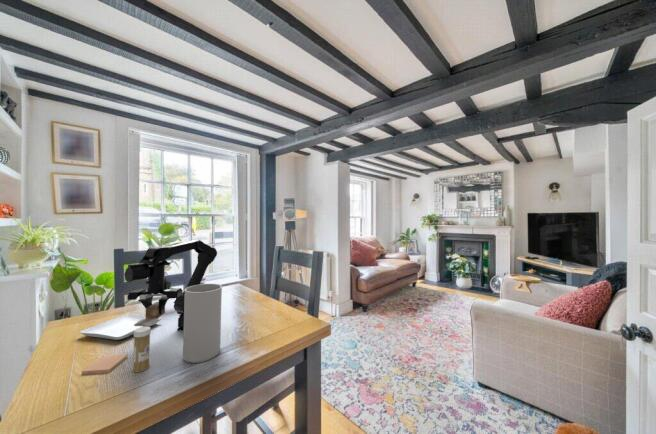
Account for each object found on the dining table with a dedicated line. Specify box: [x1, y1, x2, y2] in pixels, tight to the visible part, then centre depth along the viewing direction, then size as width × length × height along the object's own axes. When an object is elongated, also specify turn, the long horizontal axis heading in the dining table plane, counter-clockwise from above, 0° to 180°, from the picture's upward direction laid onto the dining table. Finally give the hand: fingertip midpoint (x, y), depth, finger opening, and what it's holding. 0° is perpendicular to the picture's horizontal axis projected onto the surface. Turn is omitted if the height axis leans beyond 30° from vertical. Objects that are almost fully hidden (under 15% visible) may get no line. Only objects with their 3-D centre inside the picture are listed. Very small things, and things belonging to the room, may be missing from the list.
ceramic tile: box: [81, 354, 128, 375], centre depth 85 cm, size 8×2×9 cm
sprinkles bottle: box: [132, 326, 152, 373], centre depth 83 cm, size 5×5×13 cm
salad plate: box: [79, 313, 163, 341], centre depth 112 cm, size 21×21×3 cm
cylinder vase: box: [182, 283, 223, 364], centre depth 93 cm, size 12×12×25 cm
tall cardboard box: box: [134, 301, 166, 327], centre depth 101 cm, size 6×13×5 cm, turn 9°
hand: (155, 314), depth 103 cm, fingers closed on tall cardboard box, 3 cm apart
